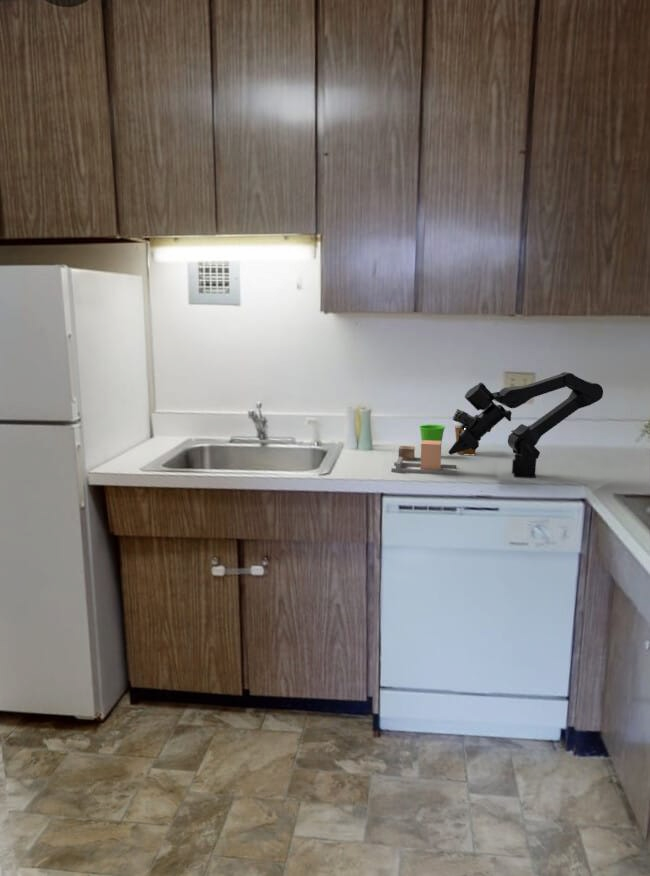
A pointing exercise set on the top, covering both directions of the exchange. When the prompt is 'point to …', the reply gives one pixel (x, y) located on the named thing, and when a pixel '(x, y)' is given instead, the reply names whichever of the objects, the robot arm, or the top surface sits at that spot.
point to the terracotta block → (430, 455)
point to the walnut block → (407, 452)
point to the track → (400, 464)
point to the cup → (432, 432)
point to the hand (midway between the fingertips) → (449, 453)
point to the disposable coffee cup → (457, 428)
